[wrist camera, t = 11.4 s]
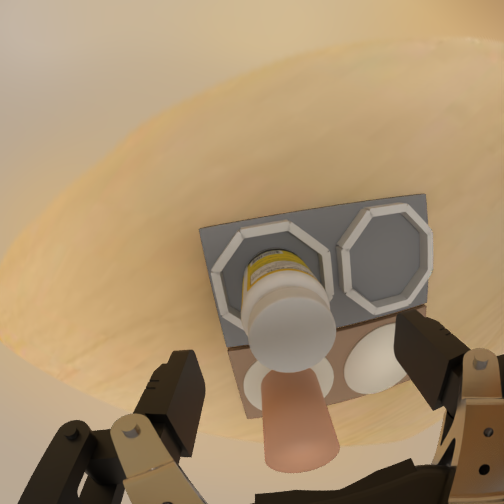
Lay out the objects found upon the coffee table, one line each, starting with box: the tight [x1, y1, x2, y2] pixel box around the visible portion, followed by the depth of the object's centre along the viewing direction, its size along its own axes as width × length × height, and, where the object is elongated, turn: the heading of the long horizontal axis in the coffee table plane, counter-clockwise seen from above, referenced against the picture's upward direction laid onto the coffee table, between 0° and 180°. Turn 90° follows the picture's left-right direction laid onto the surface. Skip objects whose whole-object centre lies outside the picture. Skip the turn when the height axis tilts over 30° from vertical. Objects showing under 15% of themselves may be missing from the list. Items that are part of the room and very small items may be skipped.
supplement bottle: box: [241, 248, 336, 373], centre depth 15 cm, size 5×5×8 cm
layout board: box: [199, 194, 433, 473], centre depth 17 cm, size 18×19×9 cm
